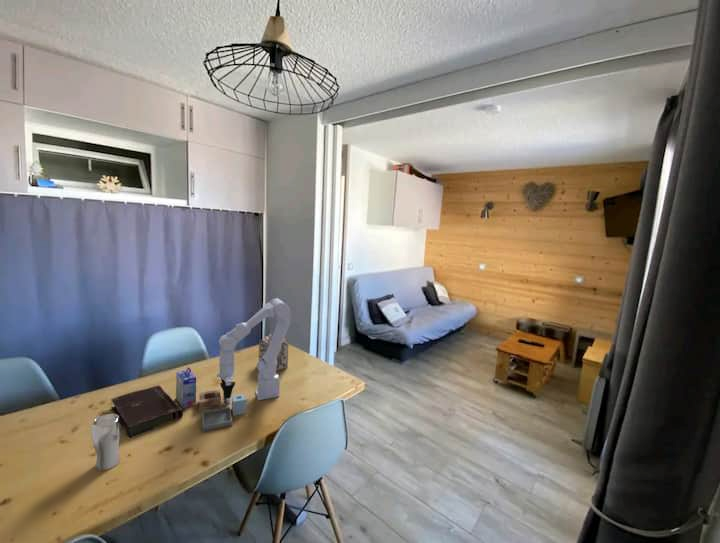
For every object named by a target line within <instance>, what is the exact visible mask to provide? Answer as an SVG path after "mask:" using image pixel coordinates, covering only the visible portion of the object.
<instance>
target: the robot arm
mask: <svg viewBox="0 0 720 543" xmlns="http://www.w3.org/2000/svg"><path fill="white" fill-rule="evenodd" d="M275 317H276V319H277V324H276V326H275V328H274V332H273V333H272V334H273V336H272V339H271V341H270V344H269V346H268V349H267V351H266V353H265V354H264V355H263V356H262V358H261V359H260V360H259V359H258V361H257V363H256V369H257V371H258V374H257V389H256V390H255V391H254V392H255V395H256V398H257V400H258V401H261V400H267V399H271V398H272V399H273V398H278V397H280V383H281V382H280V376H279V373H277V371H276V366H277V356H278V353H279V351H280V348H281V346H282V343H283V340H284V338H285V337H286V335H287V332H288V330H289V327H290V325H291V322H292V318H291V308H290V307H289V306H288V304H287V303H285V302H284V301H282V300H281V299H280V298H277V297H274V298H272V299H271V300H269V301H268V302H267V303H266V304H265V305H264V306H263V307H262V308H260V309H259V310H258V311H257V312H256V313H255V314H254V315H253V316H252V317H251V318H250V319H248V320H247V321H246V322H240V323H237V324H235V327H234V328H232V330H230V331H228V332H226V334H223V335H221V336H220V338H219V340H217V342H218V345H219V347H220V348H219V372H217V373H216V378H220V381H221V382H220V383H219V386H220V387H221V389H222V393H223V392H224V397H225V399H227V398H230V399H231V398H232V393H233V389H234V387H235V385H236V381H232V380H233V378H234V376H235V349H236V347H237V344H238V343H239V342H240V341H242V340H243V339H245V338H246V337H247V336H248V335H249V334H251V330H252V328H254V327H256V326H257V325H258V324H259V323H261V322H262V321H264V320H265V319H267V318H275ZM285 339H286V338H285Z"/></svg>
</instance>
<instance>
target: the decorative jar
mask: <svg viewBox="0 0 720 543" xmlns="http://www.w3.org/2000/svg"><path fill="white" fill-rule="evenodd" d="M272 336H273V333H270V334H269V335H268V336H264V337H263V338H262V339H261V340H260V341H259V342H258V361H259V360H260V359H261V358H262V356H263V355H264V354H265V353H266V351H267V349H268V346H269V344H270V341H271V339H272ZM288 363H289V343H288V341H287V340H286V338H284V340H283V343H282V346H281V348H280V351H279V353H278V356H277V366H276V372H277V371H280V370H284V369H288Z"/></svg>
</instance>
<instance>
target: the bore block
mask: <svg viewBox="0 0 720 543" xmlns="http://www.w3.org/2000/svg"><path fill="white" fill-rule="evenodd" d="M198 395H199V397H198V398H199V400H198V401H199V412H201V413H202V412H205V411H210V410H215V409H221V408H222V396H221V390H220V389H215V390H209V391H203V392H201V391H200V392H199V394H198Z"/></svg>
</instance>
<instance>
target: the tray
mask: <svg viewBox="0 0 720 543" xmlns="http://www.w3.org/2000/svg"><path fill="white" fill-rule="evenodd" d="M231 411H232V409H231V406H227V407H221V408H217V409H211V410H206V411H201V418H202V419H201V420H202V422H201V423H202V433H205V432H210V431H215V430H218V429H223V428H228V427H232V426H233V417H232V416H233V415H232V412H231Z"/></svg>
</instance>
